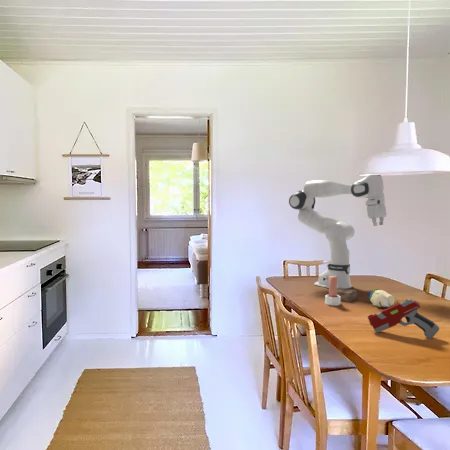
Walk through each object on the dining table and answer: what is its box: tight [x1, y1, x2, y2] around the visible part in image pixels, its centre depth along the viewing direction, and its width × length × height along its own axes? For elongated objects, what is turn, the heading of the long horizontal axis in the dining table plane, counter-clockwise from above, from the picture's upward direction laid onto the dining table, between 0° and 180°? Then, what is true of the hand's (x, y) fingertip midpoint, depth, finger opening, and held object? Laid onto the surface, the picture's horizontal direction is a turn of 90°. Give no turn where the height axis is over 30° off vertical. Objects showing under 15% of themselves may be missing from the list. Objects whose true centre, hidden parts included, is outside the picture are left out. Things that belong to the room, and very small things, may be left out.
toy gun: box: [367, 298, 440, 340], centre depth 167 cm, size 4×22×18 cm
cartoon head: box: [366, 288, 396, 308], centre depth 211 cm, size 9×10×20 cm
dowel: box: [328, 276, 337, 297], centre depth 213 cm, size 4×4×14 cm
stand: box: [337, 288, 358, 303], centre depth 224 cm, size 10×10×5 cm
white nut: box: [324, 293, 342, 307], centre depth 214 cm, size 7×7×5 cm
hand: (378, 225), depth 239 cm, fingers open, 8 cm apart
